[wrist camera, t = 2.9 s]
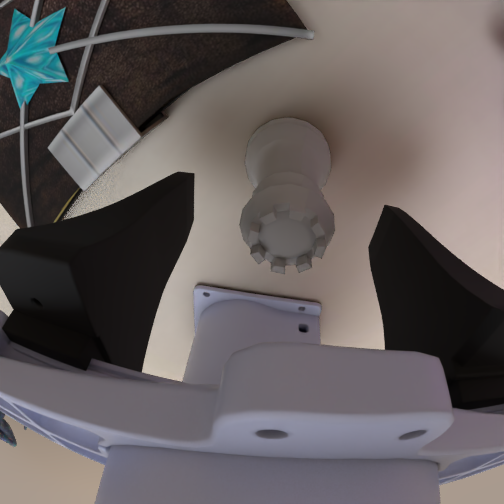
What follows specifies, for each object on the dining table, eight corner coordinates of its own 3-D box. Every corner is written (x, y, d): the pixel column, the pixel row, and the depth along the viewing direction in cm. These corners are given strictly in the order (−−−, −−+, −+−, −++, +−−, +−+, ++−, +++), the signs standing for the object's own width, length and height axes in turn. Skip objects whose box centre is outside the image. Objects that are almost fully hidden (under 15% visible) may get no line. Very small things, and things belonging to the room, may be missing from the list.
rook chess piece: (266, 101, 14) (247, 155, 8) (344, 138, 15) (383, 218, 9) (234, 173, 17) (200, 267, 11) (306, 203, 18) (313, 308, 12)
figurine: (-1, 381, 59) (-16, 434, 46) (-29, 349, 47) (-50, 411, 34) (56, 402, 63) (45, 461, 50) (34, 374, 51) (16, 446, 38)
